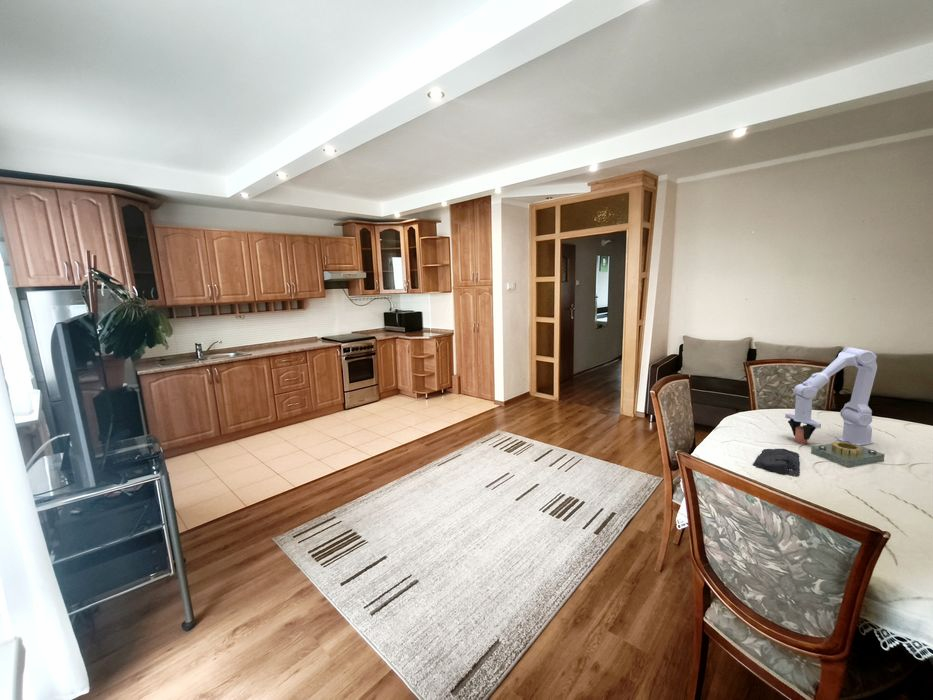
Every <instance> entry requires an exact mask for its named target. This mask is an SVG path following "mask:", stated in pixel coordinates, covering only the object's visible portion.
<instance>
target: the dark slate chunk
mask: <svg viewBox="0 0 933 700" xmlns="http://www.w3.org/2000/svg"><path fill="white" fill-rule="evenodd" d="M761 452H762V453H761ZM761 452H760V453H761V454H760V453H759V454H760V455H757V457H756V459H755V460H754V462H752V466H754V467H755V466H756V467H755V468H756V469H761V470H765V471H769V472H771V473H774V474H779V475H783V476H784V475H786V476H794V477H799V476H800V473H801V472H800V471H801V468H800V466H801V462H800V454H799V453H798V452H796V451H792V450H789V449H786V448H765V449H762V450H761Z"/></svg>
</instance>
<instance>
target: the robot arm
mask: <svg viewBox="0 0 933 700" xmlns="http://www.w3.org/2000/svg"><path fill="white" fill-rule="evenodd" d="M877 358H878V355H876V354H875V353H874V352H873V351H871V350H866V349H861V348H855V347H854V346H848V347H845V348H843V350H842V351H841V352H839V353H838V356H837V357H836V358H835V359H834V360H833V361H832V362H831V363H829V365H828V366H826V367H825V368H824V369H823V370H822V371H821V372H815V373H812V374H811V376H810V377H808V379H806V380H805V381H803V382H802V383H800V384H797V385H795V387H794V388H793V389H792V392H793V394H794V395H795V405H794V414H792V413H785V414H784V418H785V419H789V420H787V423H788V424H789V426H790V428H791V431H792V435H793V436H794V437H795V431H796V427H797V426H803V429H804V439H805V440H807V441H808V440H810V439H811V436H812V434H814V431H816V430H817V429H822V423H820V422H817V421H816V420H814V419H812V409H813V398H815V397H816V396H817V394H818V392H819V390H820V389H822V388H823V387H824V386H825V385H826V384H828V383H829V382H830V377H832V376H833V375H835V374H837V373H838V372H840V371H841V370H842V369H843V368H845V367H851V366H855V367H856V369H857V373H856V377H855V381H854V385H853V389H852V392H851V397H850V401H848V402H847V403H844V406H843V408H842V409H841V410H840V412H839V413H840V414H839V415H840V417H841V418H842V419H843V429H842V437H838V438H836V441H839V442H843V441H848V442H851V443H853V444H856V445H859V446H864V445H870V444H874V441H872V437H873V436H872V433H873V428H872V426H871V423H872V422H873V415H872V413H873V410H872V409H871V408H870V407H869V401H870V397H871V393H872V390H873V385H874V381H875V378H876V374H877V370H878V364H877ZM801 424H803V425H801ZM804 424H805V425H804Z"/></svg>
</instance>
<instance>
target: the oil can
mask: <svg viewBox="0 0 933 700" xmlns="http://www.w3.org/2000/svg"><path fill="white" fill-rule="evenodd" d="M794 443H796V444H802V445H807V444H808V440H805V439H804V429H803V425H800V426H797V427H796V431H795V436H794Z"/></svg>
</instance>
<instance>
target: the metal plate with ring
mask: <svg viewBox="0 0 933 700" xmlns="http://www.w3.org/2000/svg"><path fill="white" fill-rule="evenodd" d="M810 449H811V450H810V453H811V454H813V455H815V456H817V457H820V458H823V459H825V460H827V461H830V462H833V463H836V464H837V465H840V466H842V467H845V468H848V469H849V468H853V467H857V466H863V465H868V464H875V463H881V462H885V453H882V452H880V451H879V452H878V451H877V450H874V449H870V448H867V447H864V446H863V445H860V446H859V445H856V444H853V443H851V442H848V441H833V442H832V443H827V444H820V445H813V446H811V448H810Z"/></svg>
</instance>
